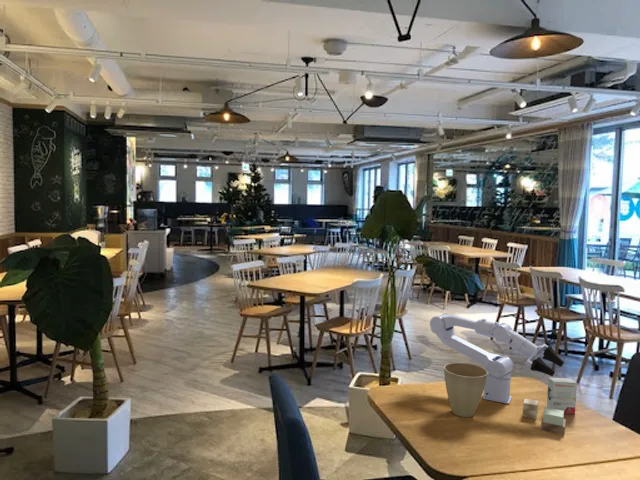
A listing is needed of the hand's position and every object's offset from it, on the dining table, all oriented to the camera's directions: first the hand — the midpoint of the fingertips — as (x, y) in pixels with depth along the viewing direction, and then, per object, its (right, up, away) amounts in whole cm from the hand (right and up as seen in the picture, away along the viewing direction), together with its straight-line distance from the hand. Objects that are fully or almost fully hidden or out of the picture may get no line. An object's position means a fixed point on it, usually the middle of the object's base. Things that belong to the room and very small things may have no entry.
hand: (558, 369), depth 181 cm
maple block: (-10, -16, 0) cm, 19 cm away
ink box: (+3, -17, +4) cm, 17 cm away
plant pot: (-34, -16, 0) cm, 37 cm away
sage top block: (-6, -15, -10) cm, 19 cm away
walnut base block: (-6, -18, -10) cm, 21 cm away
